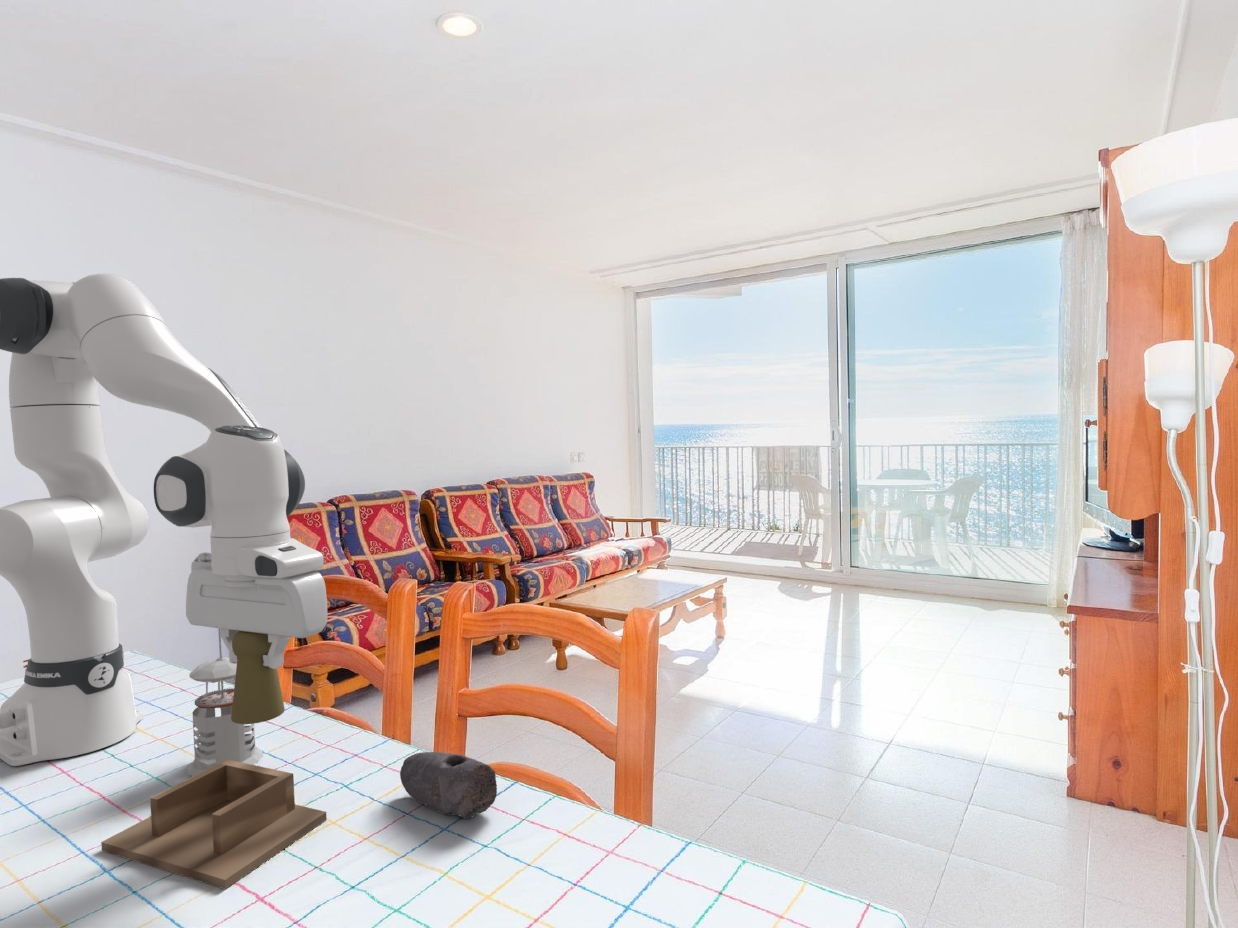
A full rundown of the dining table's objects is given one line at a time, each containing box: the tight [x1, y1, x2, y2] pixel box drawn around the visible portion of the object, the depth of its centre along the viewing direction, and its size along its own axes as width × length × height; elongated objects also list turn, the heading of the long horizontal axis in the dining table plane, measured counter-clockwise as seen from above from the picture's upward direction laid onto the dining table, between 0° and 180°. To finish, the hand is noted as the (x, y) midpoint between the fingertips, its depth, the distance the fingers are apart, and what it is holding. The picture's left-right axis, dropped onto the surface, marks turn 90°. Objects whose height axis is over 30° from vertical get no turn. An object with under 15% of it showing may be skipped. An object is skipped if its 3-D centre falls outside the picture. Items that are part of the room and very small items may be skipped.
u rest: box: [100, 760, 327, 890], centre depth 84 cm, size 20×14×6 cm
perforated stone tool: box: [399, 751, 498, 820], centre depth 89 cm, size 15×5×7 cm, turn 57°
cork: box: [231, 631, 286, 725], centre depth 88 cm, size 6×6×11 cm
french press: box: [187, 628, 264, 777], centre depth 103 cm, size 10×12×25 cm
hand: (256, 664), depth 88 cm, fingers closed on cork, 4 cm apart
